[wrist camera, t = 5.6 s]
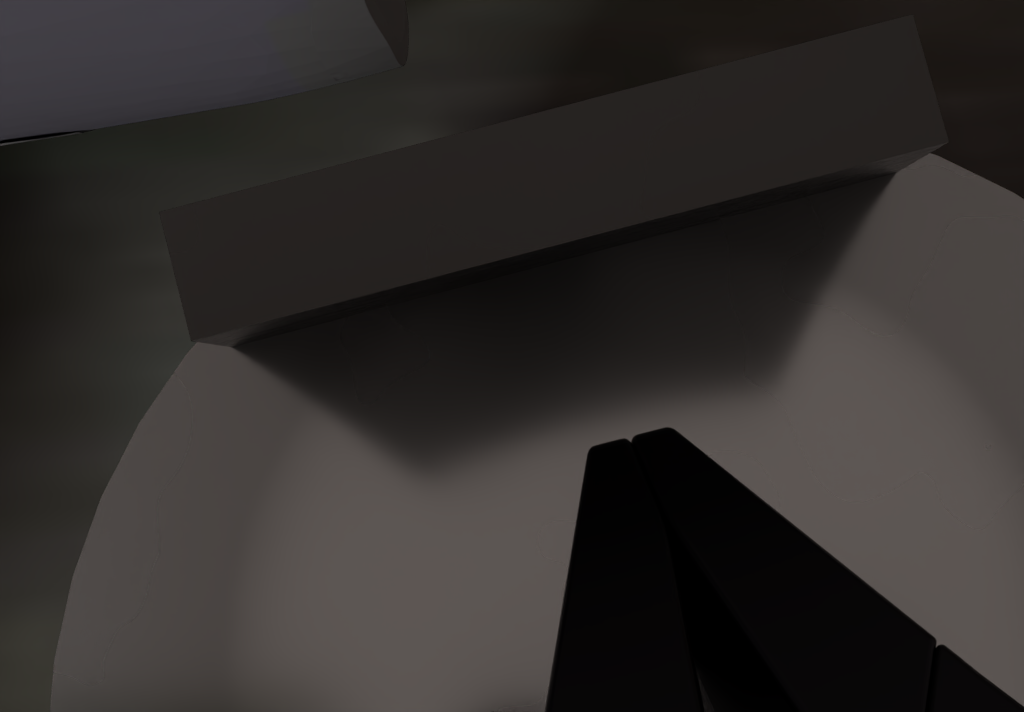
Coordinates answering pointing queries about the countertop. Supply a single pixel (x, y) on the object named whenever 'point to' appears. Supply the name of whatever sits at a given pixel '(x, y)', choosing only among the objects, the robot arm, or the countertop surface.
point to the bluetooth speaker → (179, 57)
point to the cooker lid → (564, 387)
